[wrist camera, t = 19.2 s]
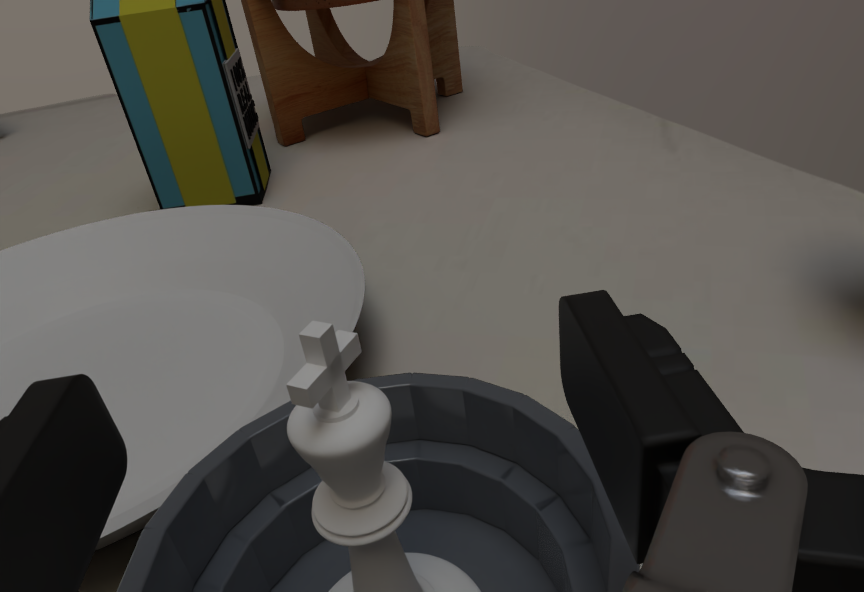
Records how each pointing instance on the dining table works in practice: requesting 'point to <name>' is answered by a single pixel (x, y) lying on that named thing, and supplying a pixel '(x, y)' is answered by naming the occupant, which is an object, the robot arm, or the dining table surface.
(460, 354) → the dining table surface
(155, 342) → the white plate
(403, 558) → the chess piece
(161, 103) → the carton
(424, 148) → the dining table surface
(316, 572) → the grey round container
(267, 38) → the planter
